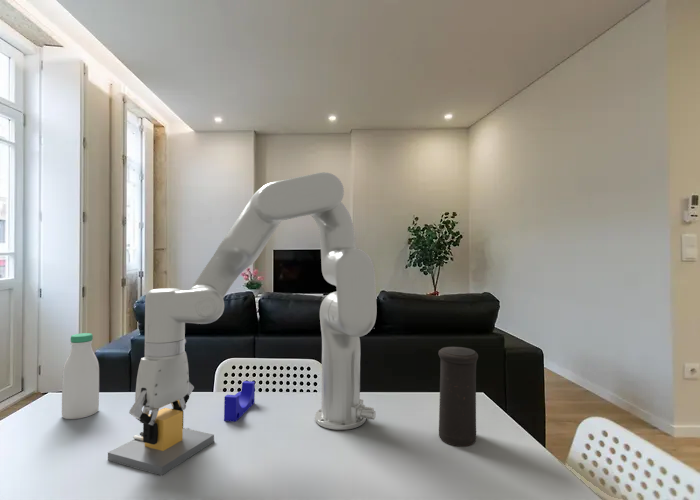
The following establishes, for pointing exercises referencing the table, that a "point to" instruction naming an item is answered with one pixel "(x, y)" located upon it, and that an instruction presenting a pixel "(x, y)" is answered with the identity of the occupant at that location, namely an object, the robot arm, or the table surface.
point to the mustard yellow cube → (168, 428)
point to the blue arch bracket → (239, 402)
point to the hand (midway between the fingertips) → (163, 434)
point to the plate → (160, 452)
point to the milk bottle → (80, 379)
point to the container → (457, 396)
